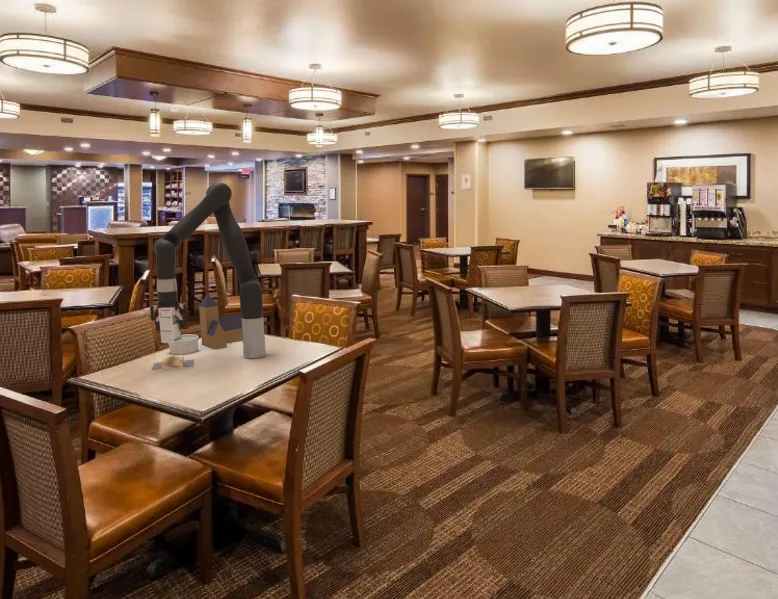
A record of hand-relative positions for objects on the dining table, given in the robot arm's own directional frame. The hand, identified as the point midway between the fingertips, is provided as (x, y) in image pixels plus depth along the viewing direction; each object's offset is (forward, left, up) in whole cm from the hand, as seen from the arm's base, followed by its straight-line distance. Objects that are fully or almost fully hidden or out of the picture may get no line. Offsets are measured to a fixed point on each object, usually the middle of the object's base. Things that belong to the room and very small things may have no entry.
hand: (170, 329), depth 241 cm
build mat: (0, -1, -16) cm, 16 cm away
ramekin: (-3, -23, -16) cm, 28 cm away
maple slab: (0, 0, -15) cm, 15 cm away
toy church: (-21, -33, -16) cm, 43 cm away
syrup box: (0, 0, -5) cm, 5 cm away
